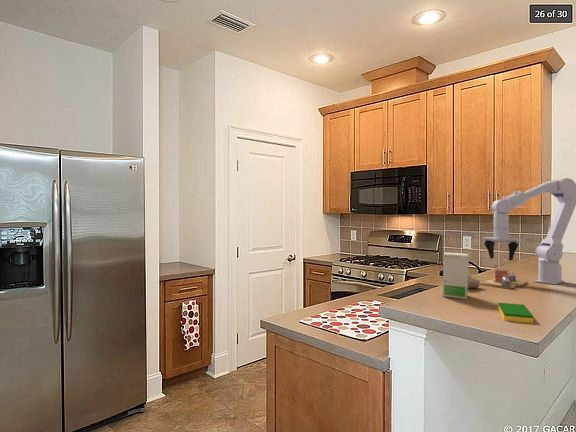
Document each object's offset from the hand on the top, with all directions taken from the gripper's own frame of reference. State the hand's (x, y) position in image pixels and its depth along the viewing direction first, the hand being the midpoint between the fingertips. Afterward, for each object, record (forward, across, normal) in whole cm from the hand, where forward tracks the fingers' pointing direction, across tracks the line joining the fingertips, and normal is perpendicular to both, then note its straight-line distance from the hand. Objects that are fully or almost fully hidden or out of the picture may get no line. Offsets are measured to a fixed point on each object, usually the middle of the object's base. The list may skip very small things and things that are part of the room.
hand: (501, 259), depth 164 cm
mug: (+10, -5, -23) cm, 26 cm away
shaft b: (+10, +6, -11) cm, 16 cm away
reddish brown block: (+9, +2, -6) cm, 11 cm away
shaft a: (+10, +3, +1) cm, 10 cm away
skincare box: (+10, -1, -40) cm, 41 cm away
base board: (+10, +2, -5) cm, 11 cm away
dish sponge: (+10, +22, -52) cm, 57 cm away
